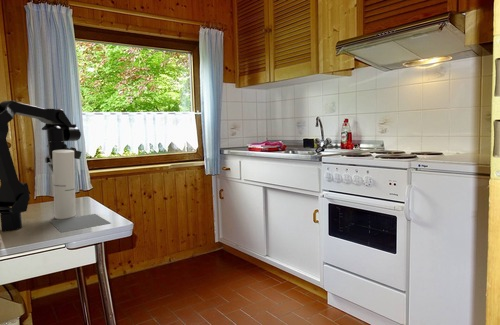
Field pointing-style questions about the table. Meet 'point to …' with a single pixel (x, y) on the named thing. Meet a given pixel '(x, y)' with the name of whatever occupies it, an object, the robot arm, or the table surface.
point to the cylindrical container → (64, 183)
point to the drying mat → (79, 222)
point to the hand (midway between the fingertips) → (59, 181)
